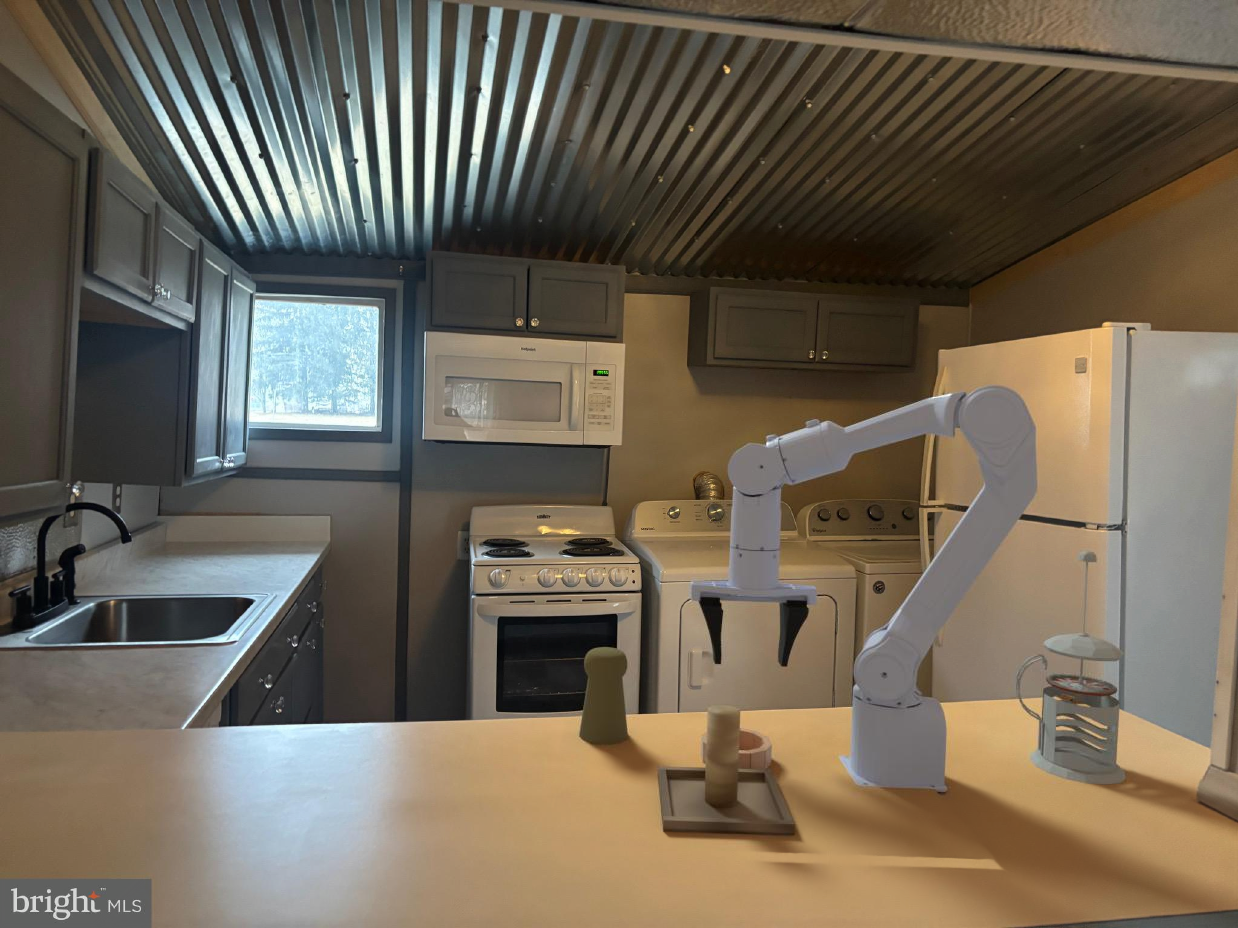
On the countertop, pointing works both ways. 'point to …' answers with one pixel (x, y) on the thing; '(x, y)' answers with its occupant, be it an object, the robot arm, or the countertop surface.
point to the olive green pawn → (604, 697)
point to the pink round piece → (748, 750)
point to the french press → (1078, 710)
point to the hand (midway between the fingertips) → (749, 662)
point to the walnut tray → (751, 814)
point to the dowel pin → (722, 756)
